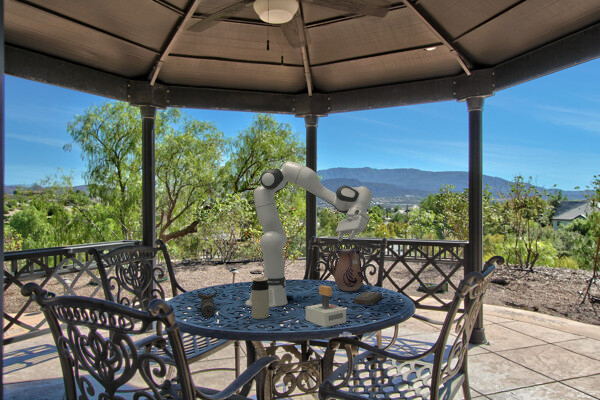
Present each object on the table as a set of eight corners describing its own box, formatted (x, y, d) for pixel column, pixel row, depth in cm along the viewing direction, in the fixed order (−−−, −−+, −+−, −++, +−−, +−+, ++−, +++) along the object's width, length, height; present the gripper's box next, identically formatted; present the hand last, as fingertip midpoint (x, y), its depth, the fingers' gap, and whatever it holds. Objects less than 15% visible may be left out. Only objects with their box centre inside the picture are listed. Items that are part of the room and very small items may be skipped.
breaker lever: (323, 304, 181) (323, 285, 182) (331, 306, 176) (331, 287, 177) (319, 305, 180) (319, 285, 180) (327, 307, 175) (327, 288, 175)
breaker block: (326, 315, 187) (326, 302, 187) (346, 322, 176) (346, 308, 176) (305, 319, 180) (305, 306, 180) (325, 327, 169) (325, 312, 169)
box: (382, 298, 222) (382, 292, 222) (373, 305, 207) (372, 299, 207) (364, 296, 227) (363, 291, 227) (353, 304, 212) (353, 298, 212)
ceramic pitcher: (365, 293, 237) (365, 251, 237) (330, 293, 236) (330, 251, 237) (360, 287, 254) (360, 248, 255) (328, 287, 254) (327, 248, 254)
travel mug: (253, 320, 181) (253, 280, 181) (250, 315, 188) (250, 277, 189) (270, 318, 183) (270, 279, 183) (266, 314, 191) (266, 276, 191)
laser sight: (197, 318, 185) (197, 297, 185) (197, 307, 206) (197, 287, 207) (219, 317, 187) (219, 295, 187) (216, 305, 209) (216, 286, 209)
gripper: (339, 215, 206) (328, 238, 201) (362, 210, 188) (351, 235, 183) (348, 221, 208) (338, 244, 203) (372, 217, 190) (361, 242, 185)
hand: (344, 240), depth 193 cm, fingers open, 8 cm apart
